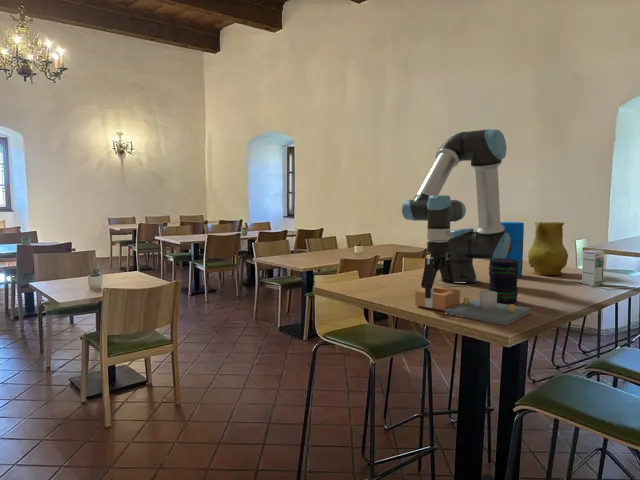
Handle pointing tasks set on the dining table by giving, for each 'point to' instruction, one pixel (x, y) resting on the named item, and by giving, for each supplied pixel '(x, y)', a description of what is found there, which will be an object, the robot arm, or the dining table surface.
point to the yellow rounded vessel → (548, 249)
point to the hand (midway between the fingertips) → (437, 304)
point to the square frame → (439, 298)
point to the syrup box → (592, 267)
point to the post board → (489, 315)
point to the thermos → (515, 242)
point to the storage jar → (504, 280)
